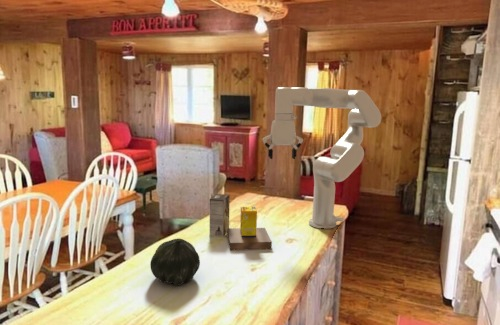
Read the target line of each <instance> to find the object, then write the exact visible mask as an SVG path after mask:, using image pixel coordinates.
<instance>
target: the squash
mask: <svg viewBox="0 0 500 325" xmlns="http://www.w3.org/2000/svg"><path fill="white" fill-rule="evenodd" d="M200 265H201V261H200V255H199V254H198V252H197V250H196V248H195V247H194V245H193V244H192V243H191V242H189V241H187V240H185V239H184V238H173V239H171V240H167V241H165V242H163V243H161V244H160V245H158V246H157V248H156V250H155V252H154V254H153V255H152V257H151V259H150V271H151V274H152V275H153V276H154V277H155V279H158V280H159V281H160V282H161V283H167V284H172V283H173V284H174V285H176V286H181V285H182V284H187V283H189V282H190V281H191V280H192V279H193V278H194V276H195V275H196V273H197V272H198V270H199V268H200Z"/></svg>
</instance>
